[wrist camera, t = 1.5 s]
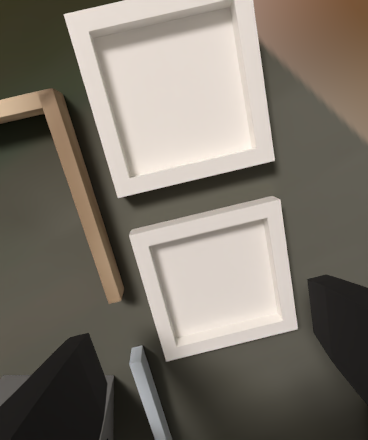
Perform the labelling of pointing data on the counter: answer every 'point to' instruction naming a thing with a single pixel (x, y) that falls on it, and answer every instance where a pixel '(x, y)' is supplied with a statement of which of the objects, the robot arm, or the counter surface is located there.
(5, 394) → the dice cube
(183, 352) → the dish
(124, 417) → the counter surface
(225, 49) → the dish
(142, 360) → the metal frame
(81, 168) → the oak pen
